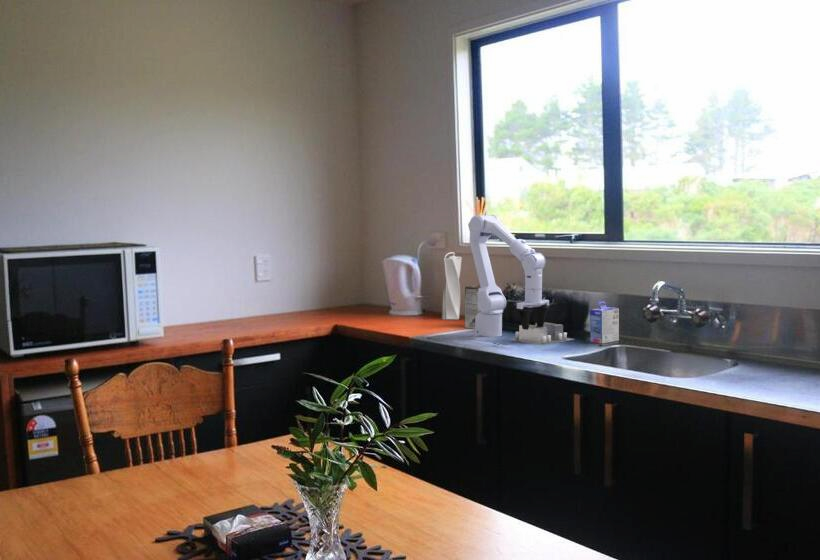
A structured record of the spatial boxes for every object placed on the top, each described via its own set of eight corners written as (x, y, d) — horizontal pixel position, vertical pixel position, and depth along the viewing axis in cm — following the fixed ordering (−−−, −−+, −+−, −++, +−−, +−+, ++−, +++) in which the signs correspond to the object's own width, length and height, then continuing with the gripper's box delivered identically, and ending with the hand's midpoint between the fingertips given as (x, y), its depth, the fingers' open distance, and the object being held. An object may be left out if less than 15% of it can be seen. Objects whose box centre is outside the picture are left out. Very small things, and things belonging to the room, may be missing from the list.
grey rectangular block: (519, 339, 274) (519, 325, 273) (526, 338, 276) (527, 324, 276) (539, 343, 267) (539, 328, 267) (546, 341, 270) (547, 327, 269)
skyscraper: (442, 317, 338) (443, 252, 335) (461, 317, 337) (462, 252, 335) (441, 320, 330) (441, 253, 327) (461, 320, 329) (461, 253, 326)
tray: (507, 342, 275) (507, 332, 274) (541, 336, 286) (541, 327, 286) (541, 348, 263) (541, 337, 263) (575, 342, 275) (575, 332, 275)
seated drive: (535, 337, 279) (535, 322, 279) (542, 335, 282) (542, 321, 281) (555, 340, 273) (555, 325, 272) (562, 339, 275) (562, 324, 275)
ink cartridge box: (606, 341, 277) (607, 299, 276) (619, 343, 273) (620, 301, 271) (588, 344, 271) (589, 302, 269) (602, 346, 266) (603, 303, 265)
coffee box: (476, 324, 315) (476, 284, 314) (490, 326, 311) (490, 285, 310) (464, 327, 308) (464, 286, 306) (478, 329, 304) (478, 287, 302)
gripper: (528, 291, 262) (527, 331, 264) (556, 288, 272) (555, 327, 273) (512, 289, 268) (511, 329, 269) (540, 286, 277) (539, 324, 278)
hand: (532, 328), depth 271 cm, fingers open, 7 cm apart
